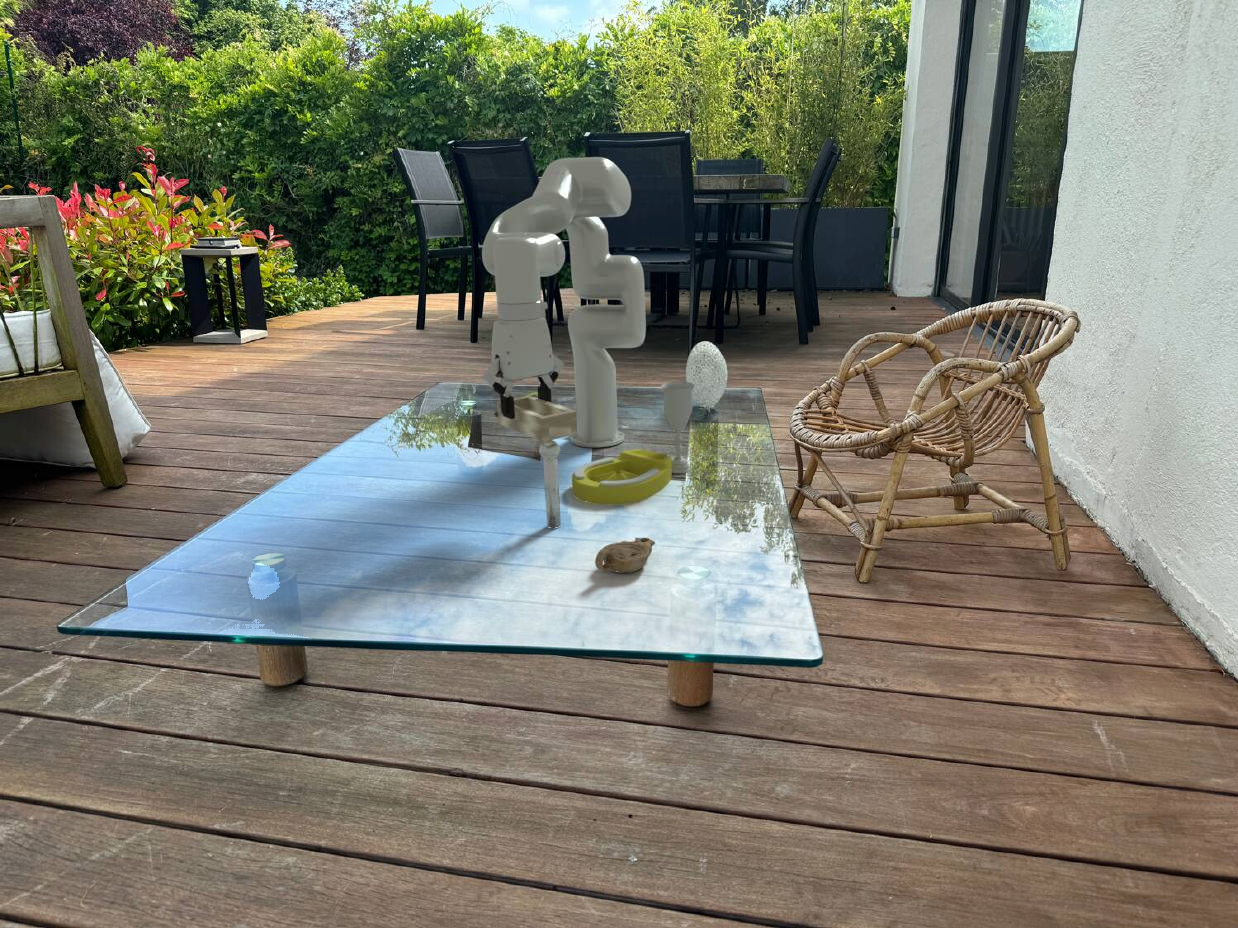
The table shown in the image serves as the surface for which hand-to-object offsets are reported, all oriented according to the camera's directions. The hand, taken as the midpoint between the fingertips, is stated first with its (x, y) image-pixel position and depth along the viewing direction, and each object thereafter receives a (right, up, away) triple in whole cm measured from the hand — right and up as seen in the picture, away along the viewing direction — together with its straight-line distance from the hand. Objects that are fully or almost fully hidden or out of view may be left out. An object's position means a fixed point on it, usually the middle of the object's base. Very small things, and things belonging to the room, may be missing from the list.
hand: (527, 412), depth 150 cm
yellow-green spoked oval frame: (+17, -14, +19) cm, 29 cm away
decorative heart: (+40, +6, +76) cm, 86 cm away
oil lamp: (+17, -26, -17) cm, 35 cm away
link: (+2, -3, -2) cm, 4 cm away
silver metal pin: (+5, -20, 0) cm, 21 cm away
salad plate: (-7, +4, +78) cm, 79 cm away
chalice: (+29, -10, +28) cm, 42 cm away
